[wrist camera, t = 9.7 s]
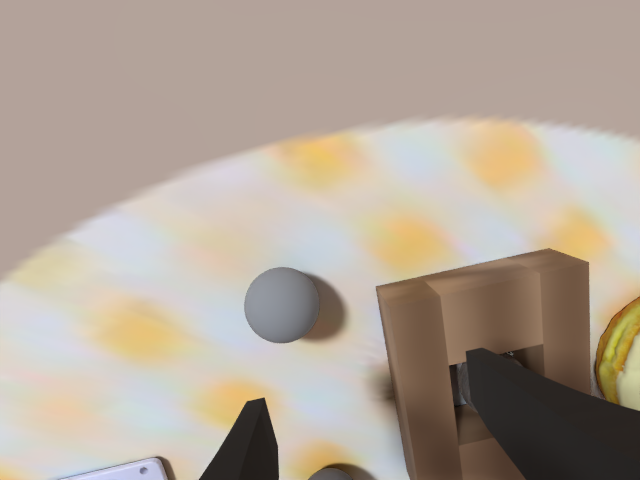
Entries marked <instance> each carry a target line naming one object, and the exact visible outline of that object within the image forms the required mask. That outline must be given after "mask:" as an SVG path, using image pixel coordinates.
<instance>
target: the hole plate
mask: <svg viewBox="0 0 640 480" xmlns="http://www.w3.org/2000/svg"><path fill="white" fill-rule="evenodd" d="M376 291H377V297H378V303H379V309H380V315H381V320H382V326H383V332H384V338H385V344H386V350H387V356H388V362H389V368H390V373H391V379H392V385H393V391H394V397H395V403H396V409H397V415H398V421H399V426H400V432H401V438H402V444H403V450H404V456H405V462H406V468H407V472H408V475H409V477H410V480H526V479H525V478H524V476H523V475H522V474H521V472H520V471H519V470H518V468H517V467H516V466H515V464H514V463H513V462H512V461H511V459H510V458H509V457H508V455H507V454H506V453H505V451H504V450H503V449H502V447H501V446H500V445H499V443H498V442H497V441H496V439H495V438H494V437H493V435H492V434H491V433H490V431H489V430H488V429H487V427H486V426H485V424H484V422H483V421H482V419H481V417H480V416H479V414H478V413H476V412H475V411H474V410H473V409H472V408H471V407H469V405H468V404H465V405H461V406H457V407H454V404H453V395H452V387H451V379H450V371H449V365H454V364H458V363H462V362H467V361H466V352H465V351H469V350H473V349H477V348H485V349H487V350H489V351H491V352H494V353H496V354H501V353H505V352H510V351H513V357H514V358H515V359H516V360H518V361H519V362H520V363H521V365H522V366H523V367H524V368H527V369H529V370H531V371H533V372H535V373H537V374H540V375H542V376H544V377H546V378H549V379H551V380H553V381H555V382H558V383H560V384H563V385H565V386H568V387H570V388H572V389H575V390H578V391H580V392H583V393H585V394H588V395H591V393H590V313H589V262H586V261H583V260H581V259H578V258H575V257H572V256H569V255H567V254H564V253H561V252H558V251H555V250H552V249H550V248H548V249H544V250H539V251H535V252H530V253H526V254H521V255H516V256H512V257H507V258H503V259H498V260H494V261H489V262H485V263H480V264H476V265H471V266H467V267H462V268H458V269H453V270H449V271H444V272H440V273H435V274H430V275H426V276H421V277H417V278H412V279H408V280H403V281H399V282H394V283H390V284H385V285H381V286H376Z"/></svg>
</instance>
